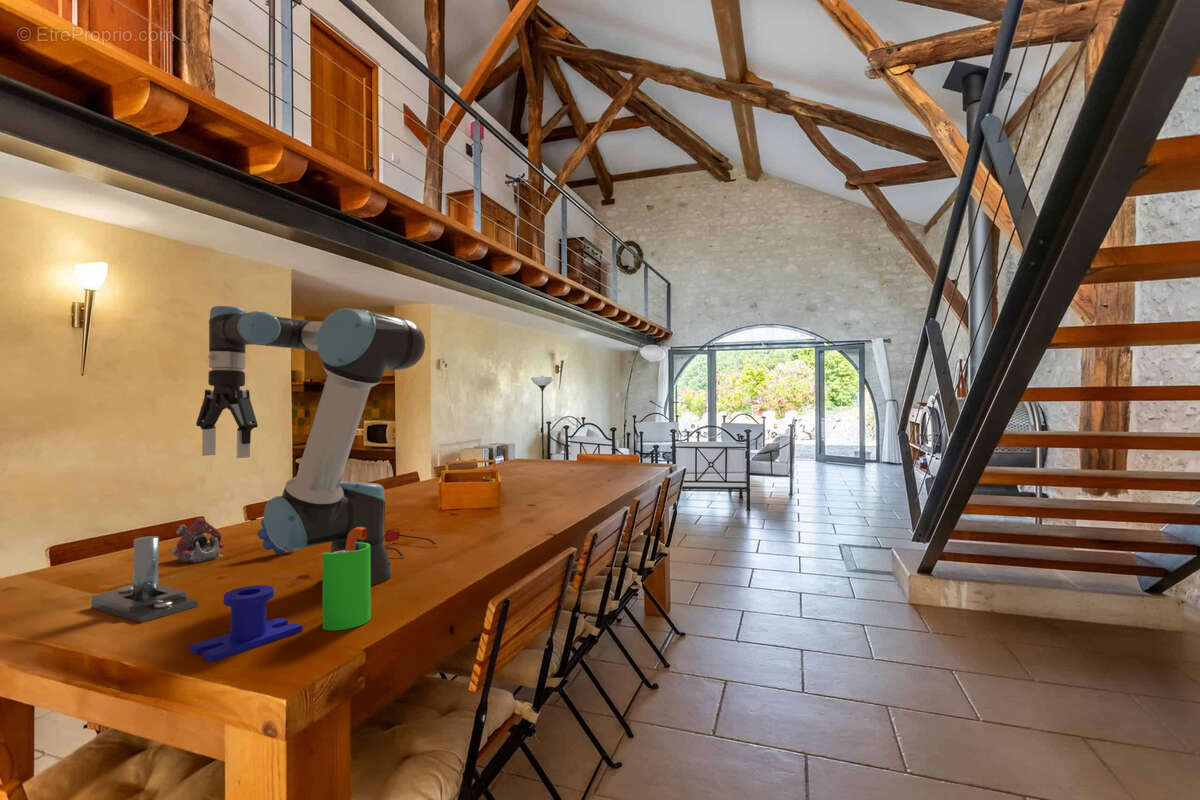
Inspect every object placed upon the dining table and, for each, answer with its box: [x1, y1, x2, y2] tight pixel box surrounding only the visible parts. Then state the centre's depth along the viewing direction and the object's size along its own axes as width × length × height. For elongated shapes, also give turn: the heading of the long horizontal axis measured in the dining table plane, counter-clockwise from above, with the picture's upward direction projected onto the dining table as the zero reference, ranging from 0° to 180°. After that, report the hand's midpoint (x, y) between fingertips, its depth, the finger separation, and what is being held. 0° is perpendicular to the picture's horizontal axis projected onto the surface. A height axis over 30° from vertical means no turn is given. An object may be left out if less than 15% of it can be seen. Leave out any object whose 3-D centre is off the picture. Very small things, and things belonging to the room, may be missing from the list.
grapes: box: [256, 518, 294, 555], centre depth 156 cm, size 12×7×12 cm, turn 141°
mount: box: [189, 584, 303, 663], centre depth 99 cm, size 15×8×9 cm, turn 148°
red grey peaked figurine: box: [169, 517, 225, 564], centre depth 151 cm, size 11×11×12 cm
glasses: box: [384, 528, 436, 557], centre depth 162 cm, size 14×16×5 cm
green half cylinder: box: [321, 527, 372, 631], centre depth 108 cm, size 9×8×18 cm
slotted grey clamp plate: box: [91, 584, 199, 623], centre depth 115 cm, size 18×10×3 cm, turn 65°
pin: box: [132, 535, 160, 601], centre depth 115 cm, size 4×4×14 cm
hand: (225, 456), depth 138 cm, fingers open, 13 cm apart
